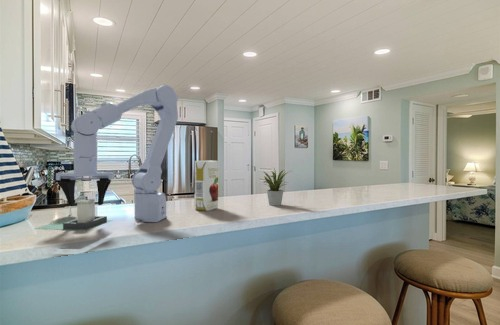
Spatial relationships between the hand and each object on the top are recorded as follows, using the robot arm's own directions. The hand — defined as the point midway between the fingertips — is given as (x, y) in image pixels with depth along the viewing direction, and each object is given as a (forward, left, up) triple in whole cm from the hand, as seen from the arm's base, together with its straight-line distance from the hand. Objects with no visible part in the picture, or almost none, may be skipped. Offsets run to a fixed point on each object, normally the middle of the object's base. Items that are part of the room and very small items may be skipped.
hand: (86, 205), depth 81 cm
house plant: (-55, -45, -7) cm, 72 cm away
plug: (0, 0, -6) cm, 6 cm away
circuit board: (+4, 0, -7) cm, 8 cm away
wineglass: (+15, -12, -7) cm, 20 cm away
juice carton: (-27, -32, -7) cm, 43 cm away
